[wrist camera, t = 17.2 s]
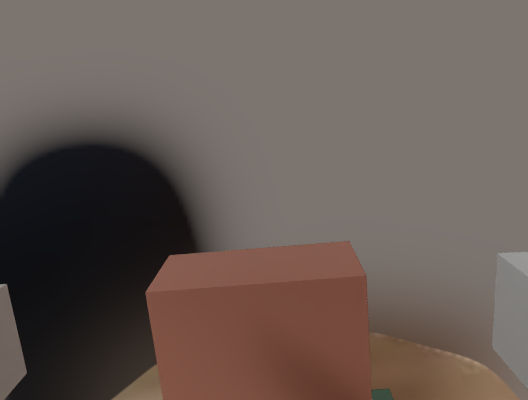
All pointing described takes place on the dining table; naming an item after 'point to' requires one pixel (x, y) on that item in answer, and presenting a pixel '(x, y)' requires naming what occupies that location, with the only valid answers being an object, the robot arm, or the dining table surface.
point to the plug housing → (262, 324)
